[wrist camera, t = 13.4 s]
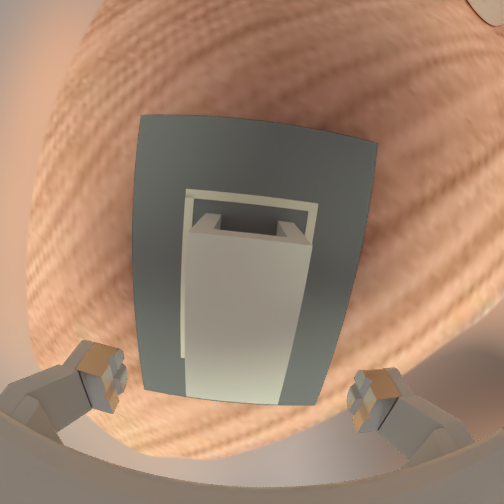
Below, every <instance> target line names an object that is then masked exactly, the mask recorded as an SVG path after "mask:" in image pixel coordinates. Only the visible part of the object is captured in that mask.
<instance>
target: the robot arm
mask: <svg viewBox="0 0 504 504" xmlns="http://www.w3.org/2000/svg"><path fill="white" fill-rule="evenodd" d="M123 360H124V354H123V351H122V350H121V349H119V348H115V347H111V346H107V345H103V344H100V343H95V342H92V341H88V340H82V341H81V342H80V343H79V345H78V346H77V347H76V348H75V350H74V351H73V352H72V353H71V355H70V356H69V357H68V359H67V360H66V361H65V362H64V364H63V365H56V366H54V367H51V368H49V369H46V370H44V371H41V372H38V373H36V374H33V375H31V376H28V377H26V378H23V379H20V380H18V381H15V382H12V383H10V384H8V386H7V387H6V388H5V389H4V391H3V392H2V393H1V394H0V504H504V427H503V428H501V429H500V430H498V431H496V432H494V433H492V434H490V435H488V436H487V437H484V438H482V439H480V440H478V441H476V442H474V440H473V439H472V437H471V435H470V433H469V432H468V430H467V429H466V427H465V426H464V424H463V422H462V421H461V420H459V419H458V418H456V417H454V416H452V415H451V414H449V413H447V412H445V411H444V410H442V409H440V408H439V407H437V406H435V405H433V404H432V403H430V402H428V401H426V400H425V399H423V398H421V397H420V396H418V395H413V393H412V392H411V390H410V389H409V387H408V385H407V383H406V382H405V380H404V379H403V377H402V375H401V374H400V372H399V371H398V369H397V368H395V367H394V368H383V369H372V370H359V371H358V372H357V373H356V375H355V377H354V379H355V382H356V383H355V384H354V385H352V386H351V387H350V389H349V391H348V394H347V406H348V409H349V411H350V412H351V413H353V414H354V417H353V419H352V420H353V424H354V426H355V429H356V432H357V433H364V432H373V431H377V432H378V433H379V434H380V435H381V436H382V437H383V438H385V439H386V440H387V441H388V442H389V443H390V444H391V445H392V446H393V447H395V448H396V449H397V450H398V451H399V452H400V453H401V454H403V455H404V456H405V457H406V458H407V459H408V461H407V462H406V463H405V464H404V465H403V466H402V467H401V469H400V470H397V471H393V472H389V473H385V474H381V475H377V476H372V477H367V478H362V479H356V480H351V481H344V482H338V483H330V484H321V485H310V486H298V487H297V486H296V487H239V486H223V485H214V484H205V483H197V482H190V481H184V480H178V479H172V478H167V477H162V476H158V475H153V474H149V473H145V472H141V471H136V470H133V469H129V468H126V467H122V466H119V465H116V464H112V463H109V462H106V461H104V460H100V459H98V458H95V457H92V456H89V455H87V454H84V453H82V452H79V451H77V450H74V449H72V448H69V447H67V446H65V445H64V444H63V442H62V440H61V439H60V437H59V436H58V434H57V432H58V431H60V430H61V429H63V428H64V427H66V426H68V425H69V424H70V423H72V422H74V421H75V420H77V419H78V418H79V417H81V416H82V415H84V414H85V413H87V412H88V411H90V410H91V409H92V408H93V409H97V410H100V411H104V412H107V413H111V414H113V413H114V411H115V409H116V407H117V405H118V402H119V398H118V395H119V394H121V393H123V392H124V389H125V387H126V383H127V369H126V367H125V366H124V365H123V363H122V362H123Z"/></svg>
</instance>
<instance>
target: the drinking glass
mask: <svg viewBox="0 0 504 504" xmlns="http://www.w3.org/2000/svg"><path fill="white" fill-rule="evenodd" d="M468 2H469V4H470V5H471V7H472V8H473V9H474V10H475V12H476V13H477V14H478V15H479V16H480V17H481V18H482V19H483V20H484V21H486V22H487V23H489V24H490V25H493V26H501V25H503V24H504V0H468Z"/></svg>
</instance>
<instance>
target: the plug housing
mask: <svg viewBox="0 0 504 504" xmlns="http://www.w3.org/2000/svg"><path fill="white" fill-rule="evenodd" d="M221 215H222V214H212V213H205V214H204V215H203V216H202V217H201V218H200V220H199V221H198V222H197V223H196V224H195V225H194V226H193V227H192V228H191V229H190V230H189V231H188V236H187V255H186V280H185V382H186V396H187V397H194V398H201V399H209V400H218V401H228V402H239V403H254V404H275V405H278V402H279V398H280V394H281V390H282V387H283V383H284V379H285V375H286V371H287V367H288V363H289V358H290V354H291V350H292V346H293V341H294V337H295V333H296V328H297V323H298V319H299V314H300V309H301V305H302V300H303V295H304V290H305V285H306V280H307V274H308V269H309V264H310V258H311V253H312V247H313V245H312V244H311V243H310V242H309V241H308V239H307V238H306V237H305V236H304V234H303V233H302V232H301V231H300V230H299V229H298V227H297V226H296V225H295V224H294V223H293V222H285V221H278V224H277V231H276V236H273V235H264V234H255V233H245V232H236V231H227V230H220V226H221Z"/></svg>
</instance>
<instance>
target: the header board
mask: <svg viewBox="0 0 504 504" xmlns="http://www.w3.org/2000/svg"><path fill="white" fill-rule="evenodd" d="M377 146H378V143H375V142H371V141H367V140H363V139H359V138H355V137H351V136H347V135H342V134H337V133H333V132H328V131H323V130H318V129H312V128H307V127H301V126H295V125H289V124H282V123H275V122H267V121H259V120H250V119H241V118H229V117H216V116H198V115H141V119H140V127H139V135H138V144H137V153H136V164H135V177H134V193H133V219H132V264H133V290H134V306H135V319H136V330H137V340H138V349H139V357H140V365H141V372H142V378H143V385H144V389H145V390H150V391H155V392H160V393H165V394H171V395H177V396H183V397H187V396H186V382H185V280H186V255H187V236H188V231H189V230H190V229H191V228H192V227H193V226H194V225H195V224H196V223H197V222H198V221H199V220H200V218H201V217H202V216H203V215H204V214H205V213H212V214H222V215H221V226H220V230H227V231H236V232H245V233H255V234H264V235H273V236H276V231H277V224H278V221H285V222H293V223H294V224H295V225H296V226H297V227H298V229H299V230H300V231H301V232H302V233H303V234H304V236H305V237H306V238H307V239H308V241H309V242H310V243H311V244H312V245H313V247H312V253H311V258H310V264H309V269H308V274H307V280H306V285H305V290H304V295H303V300H302V305H301V309H300V314H299V319H298V323H297V328H296V333H295V337H294V341H293V346H292V350H291V354H290V358H289V363H288V367H287V371H286V375H285V379H284V383H283V387H282V390H281V394H280V398H279V402H278V405H315V404H316V402H317V399H318V397H319V394H320V391H321V388H322V386H323V383H324V380H325V377H326V374H327V372H328V369H329V366H330V363H331V360H332V357H333V354H334V350H335V347H336V344H337V341H338V338H339V334H340V331H341V328H342V324H343V321H344V317H345V314H346V310H347V306H348V303H349V299H350V295H351V291H352V287H353V283H354V279H355V275H356V271H357V266H358V262H359V257H360V253H361V248H362V243H363V238H364V233H365V228H366V223H367V217H368V211H369V206H370V199H371V193H372V186H373V179H374V172H375V164H376V155H377ZM190 398H194V397H190ZM197 399H201V398H197ZM204 400H209V399H204ZM212 401H218V400H212ZM221 402H228V401H221ZM232 403H239V402H232ZM244 404H254V403H244ZM260 405H275V404H260Z"/></svg>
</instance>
